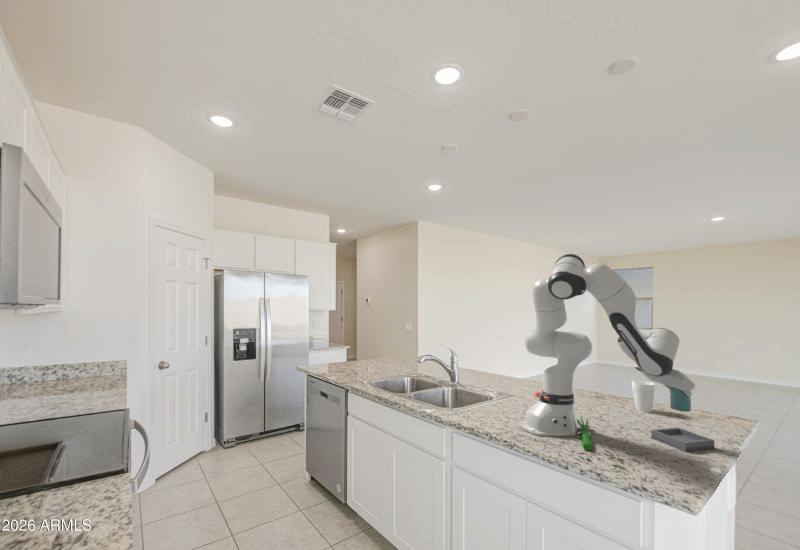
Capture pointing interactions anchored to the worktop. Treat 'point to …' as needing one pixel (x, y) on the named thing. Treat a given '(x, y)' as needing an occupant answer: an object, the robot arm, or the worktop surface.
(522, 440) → the worktop surface
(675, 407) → the teal cylinder
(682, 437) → the tray
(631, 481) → the worktop surface
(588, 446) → the green onion
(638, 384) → the foam cup
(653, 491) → the worktop surface
